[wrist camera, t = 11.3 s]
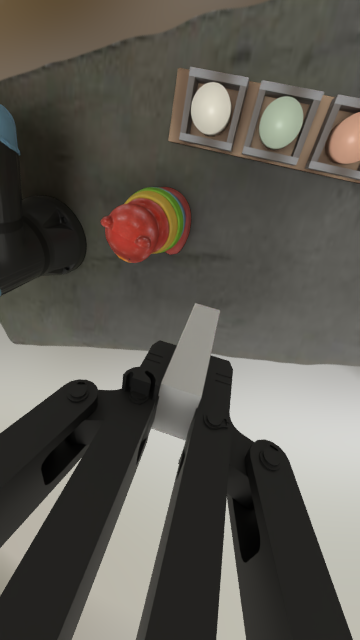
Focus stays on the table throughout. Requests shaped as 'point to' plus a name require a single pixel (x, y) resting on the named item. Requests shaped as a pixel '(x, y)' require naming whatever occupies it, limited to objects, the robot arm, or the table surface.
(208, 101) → the ivory button
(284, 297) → the table surface
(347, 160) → the terracotta button
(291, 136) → the sage button
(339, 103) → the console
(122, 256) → the stacking bear
